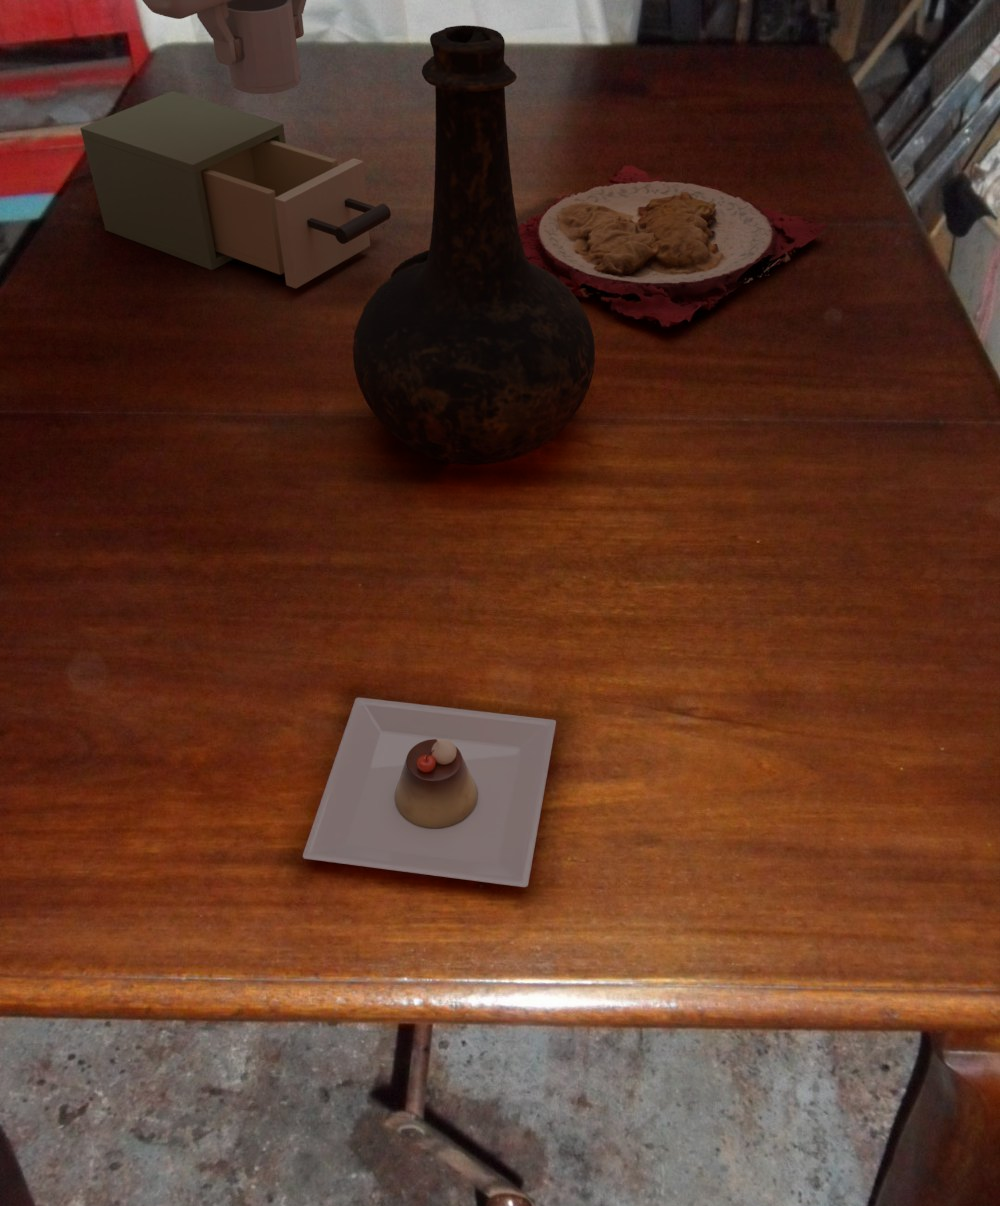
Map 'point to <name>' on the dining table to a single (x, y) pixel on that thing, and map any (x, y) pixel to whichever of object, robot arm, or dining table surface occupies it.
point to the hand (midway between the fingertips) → (261, 50)
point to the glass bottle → (473, 292)
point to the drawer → (289, 210)
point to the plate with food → (659, 243)
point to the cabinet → (167, 169)
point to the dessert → (435, 792)
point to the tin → (264, 46)
